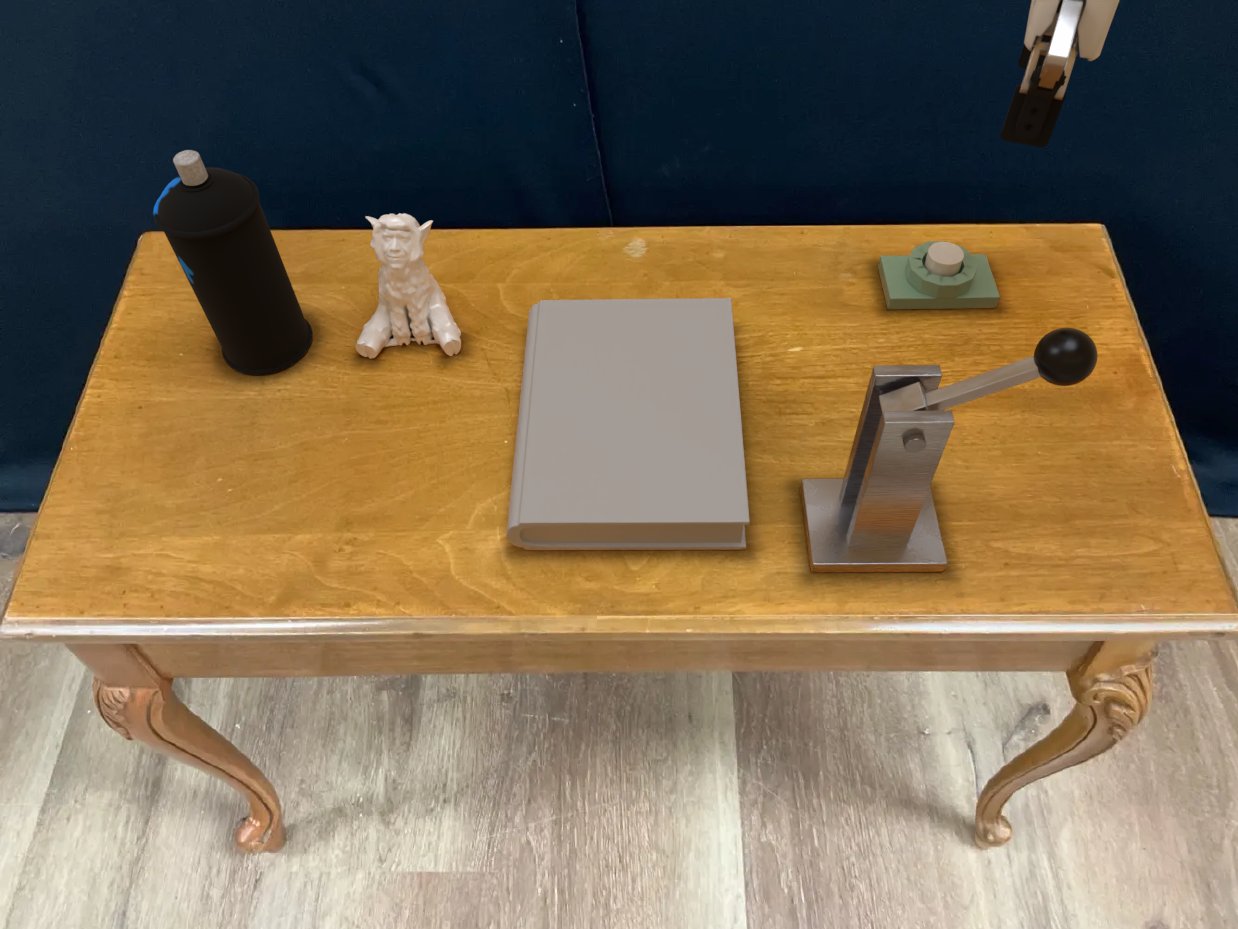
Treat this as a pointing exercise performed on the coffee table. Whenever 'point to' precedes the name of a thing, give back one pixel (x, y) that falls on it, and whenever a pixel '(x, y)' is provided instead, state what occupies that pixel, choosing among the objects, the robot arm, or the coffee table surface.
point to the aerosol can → (233, 266)
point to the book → (629, 428)
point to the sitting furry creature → (406, 291)
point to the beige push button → (944, 259)
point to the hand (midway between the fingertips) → (1031, 103)
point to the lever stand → (882, 487)
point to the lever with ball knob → (1007, 374)
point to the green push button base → (936, 282)
